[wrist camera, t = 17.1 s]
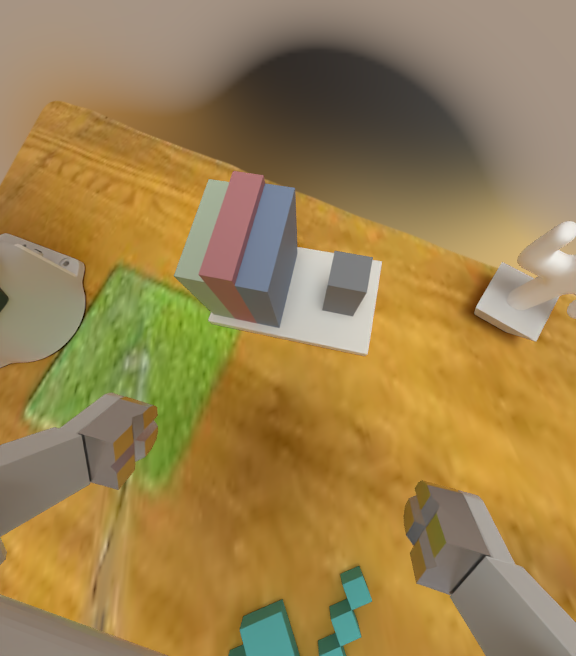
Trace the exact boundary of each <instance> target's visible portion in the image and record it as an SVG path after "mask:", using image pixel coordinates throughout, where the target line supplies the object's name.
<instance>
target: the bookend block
mask: <svg viewBox="0 0 576 656" xmlns="http://www.w3.org/2000/svg"><path fill="white" fill-rule="evenodd" d="M372 260H373V257H367V256H362V255H356V254H350V253H345V252H339V251H335V252H334V257H333V261H332V266H331V271H330V275H329V280H328V285H327V290H326V294H325V299H324V304H323V309H322V310H323V311H328V312H333V313H338V314H343V315H348V316H353V315H354V314H355V312H356V310H357V308H358V307H359V305H360V303H361V302H362V300H363V298H364V297H365V295H366V293H367V289H368V283H369V277H370V271H371V266H372Z"/></svg>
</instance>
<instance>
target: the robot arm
mask: <svg viewBox="0 0 576 656" xmlns="http://www.w3.org/2000/svg"><path fill="white" fill-rule="evenodd" d="M84 271H85V266H84V263H83V262H81V261H79V260H77V259H75V258H72V257H69V256H67V255H64V254H61V253H59V252H56V251H53V250H51V249H48V248H45V247H43V246H40V245H37V244H35V243H32V242H29V241H27V240H24V239H22V238H19V237H16V236H14V235H11V234H7V233H5V234H1V235H0V368H1V367H3V366H6V365H8V364H10V363H17V362H32V361H37V360H40V359H43V358H45V357H47V356H49V355H51V354H53V353H54V352H56V351H57V350H59V349H60V348H61V347H62V346H64V345H65V344H66V343H67V342H68V341H69V339H70V338H71V337H72V336H73V335H74V333H75V332H76V330H77V328H78V327H79V325H80V322H81V320H82V317H83V314H84V310H85V294H84V289H83V284H82V280H83V276H84ZM157 416H158V414H157V407H156V406H154V405H151V404H147V403H144V402H141V401H138V400H135V399H131V398H128V397H124V396H121V395H118V394H114V393H107V394H105V395H103V396H102V397H100V398H99V399H98V400H96V401H95V402H94V403H93V404H91V405H90V406H89V407H87V408H86V409H85V410H83V411H82V412H81V413H79V414H78V415H77V416H75V417H74V418H73V419H71V420H70V421H69V422H67V423H66V424H65V425H63V426H62V427H61V428H56V427H54V428H50V429H47V430H44V431H41V432H38V433H35V434H32V435H29V436H26V437H23V438H20V439H17V440H14V441H11V442H8V443H5V444H2V445H0V537H1V536H2V535H4V534H6V533H8V532H9V531H11V530H13V529H14V528H16V527H18V526H19V525H21V524H23V523H25V522H26V521H28V520H30V519H31V518H33V517H35V516H36V515H38V514H40V513H42V512H43V511H45V510H47V509H48V508H50V507H52V506H54V505H55V504H57V503H59V502H60V501H62V500H64V499H65V498H67V497H69V496H71V495H72V494H74V493H76V492H77V491H79V490H81V489H83V488H84V487H86V486H88V485H89V484H90V482H92V483H96V484H99V485H103V486H107V487H110V488H114V489H117V490H119V489H120V488H121V486H122V485H123V484H124V483H125V481H126V480H127V479H128V478H129V476H130V475H131V474H132V473H133V471H134V470H135V462H136V461H138V460H140V459H142V458H144V457H146V455H147V454H148V453H149V451H150V450H151V449H152V447H153V445H154V443H155V441H156V438H157V434H158V426H157V424H156V423H155V421H154V419H155V418H156V417H157ZM415 492H416V496H413V497H411V498H409V499H408V501H407V503H406V505H405V510H404V527H405V532H406V536H407V537H408V538H409V540H410V541H411V543H412V544H413V545H414V546H413V548H412V550H411V552H410V556H411V561H412V566H413V570H414V575H415V580H416V583H417V584H420V585H423V586H426V587H429V588H431V589H434V590H437V591H440V592H443V593H446V594H449V595H451V596H450V598H451V599H452V601H453V603H454V604H455V606H456V608H457V609H458V611H459V613H460V614H461V616H462V617H463V619H464V621H465V622H466V624H467V626H468V627H469V629H470V630H471V632H472V634H473V635H474V637H475V639H476V640H477V642H478V644H479V645H480V647H481V648H482V650H483V652H484V653H485V655H486V656H576V622H575V621H574V620H573V619H572V618H571V617H570V616H569V615H568V614H567V613H566V612H565V611H564V610H563V609H562V608H561V607H560V606H559V605H558V604H557V603H556V602H555V601H554V600H553V599H552V597H551V596H550V595H549V594H548V593H547V592H546V591H545V590H544V589H543V588H542V587H541V586H540V585H539V584H538V583H537V582H536V581H535V580H534V579H533V578H532V577H531V576H530V575H529V574H528V572H527V571H526V570H525V569H524V568H523V567H521V566H518V565H515V563H514V561H513V559H512V557H511V555H510V553H509V551H508V549H507V547H506V545H505V543H504V541H503V539H502V537H501V535H500V533H499V531H498V530H497V528H496V526H495V524H494V522H493V520H492V518H491V516H490V514H489V512H488V510H487V508H486V506H485V504H484V502H483V500H482V499H481V498H480V497H479V496H478V495H474V494H470V493H467V492H463V491H459V490H456V489H452V488H449V487H445V486H441V485H438V484H434V483H430V482H426V481H423V480H422V481H420V482H418V484H417V485H416V487H415ZM6 554H7V551H6V549H5V547H4V545H3V542H2V540H1V538H0V564H1V563H2V562H3V561H4V560H5V559H6ZM0 656H168V655H165V654H162V653H159V652H157V651H154V650H151V649H149V648H146V647H143V646H140V645H138V644H135V643H132V642H129V641H127V640H124V639H121V638H118V637H116V636H113V635H110V634H107V633H105V632H102V631H99V630H96V629H94V628H91V627H88V626H86V625H83V624H80V623H77V622H75V621H72V620H69V619H66V618H64V617H61V616H58V615H55V614H53V613H50V612H47V611H44V610H42V609H39V608H36V607H34V606H31V605H28V604H25V603H23V602H20V601H17V600H14V599H12V598H9V597H6V596H3V595H1V594H0Z"/></svg>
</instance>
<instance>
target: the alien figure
mask: <svg viewBox="0 0 576 656" xmlns="http://www.w3.org/2000/svg"><path fill="white" fill-rule="evenodd" d="M340 575H341V580H342V585H343V587H344V590H345V593H346V596H347V599H345V600H343V601H341V602H339V603H336V604H334V605H332V606H330V615H331V621H332V624H333V627H334V630H335V633H334V634H332V635H330V636H327V637H325V638H323V639H321V640H318V647H319V656H346V653H345V650H344V648H343V645H345V644H347V643H350V642H352V641H354V640H356V639H358V638H361V633H360V629H359V625H358V622H357V619H356V616H355V613H354V611H353V610H354V609H356V608H358V607H360V606H363V605H365V604H367V603H369V602H372V599H371V596H370V593H369V590H368V588H367V585H366V582H365V580H364V577H363V574H362V572H361V569H360V567H359V566H358V567H355V568H353V569H351V570H348V571H346V572H344V573H342V574H340ZM240 633H241V637H242V641H243V645H241V646H239V647H237V648H234V649H232V650H230V652H229V656H300V655H299V651H298V648H297V645H296V642H295V638H294V635H293V632H292V629H291V625H290V622H289V619H288V616H287V612H286V609H285V606H284V602H283V599H282V600H280V601H277V602H275V603H273V604H270V605H268V606H266V607H264V608H261V609H259V610H257V611H254V612H252V613H250V614H248V615H245V616H243V619H242V623H241V627H240Z"/></svg>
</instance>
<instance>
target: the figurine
mask: <svg viewBox="0 0 576 656" xmlns="http://www.w3.org/2000/svg"><path fill="white" fill-rule="evenodd" d="M575 237H576V223H574V222H571V221H566V222H563V223H561V224H559V225H557V226H556V227H554V228H553V229H551V230H550V231H548V232H547V233H545V234H544V235H543V236H541V237H540V238H538V239H537V240H535V241H534V242H533V243H531V244H530V245H528V246H527V247H526V248H525V249H524V250H523V251H522V252H521V253H520V255H519V256H518V259H517V262H518V264H519V265H520V266H521V267H522V268H524V269H526V270H528V271H530V272H531V273H534V274H536V275H537V276H538V277H536V278H532V277H530V276H528V275H527V274H525V273H523V272H521V271H518V270H517V269H515V268H513V267H511V266H509V265H507V264H505V263H503V262H502V263H501V265H500V267H499V268H498V270H497V272H496V273H495V275H494V277H493V278H492V280H491V282H490V284H489V285H488V287H487V289H486V291H485V292H484V294H483V296H482V297H481V299H480V301H479V303H478V304H477V306H476V308H475V312H474V314H475V315H476V316H478V317H480V318H482V319H483V320H485V321H487V322H489V323H490V324H492V325H494V326H496V327H498V328H499V329H501V330H503V331H505V332H507V333H510V334H513V335H516V336H520V337H523V338H526V339H529V340H533V341H537V339H538V337H539V335H540V333H541V331H542V329H543V327H544V325H545V323H546V321H547V319H548V317H549V315H550V313H551V311H552V309H553V308H554V306H555V304H556V302H557V300H558V298H559V296H561V295H563V294H574V295H576V255H568V254H566V253H563V252H561V251H559V249H560V248H562V247H563V246H565V245H567V244H568V243H570V242H571V241H572V240H573V239H574V238H575ZM567 313H568V315H569V316H570V317H571V318H574V319H576V300H574V301H573V302H572V303H570V305H569V306H568V309H567Z"/></svg>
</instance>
